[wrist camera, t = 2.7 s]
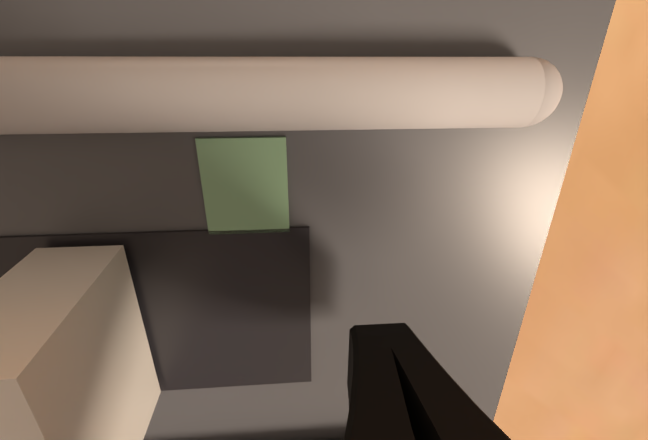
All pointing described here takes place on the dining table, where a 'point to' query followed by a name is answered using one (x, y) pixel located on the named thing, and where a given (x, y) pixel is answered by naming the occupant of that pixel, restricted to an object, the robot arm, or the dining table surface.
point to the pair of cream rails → (272, 93)
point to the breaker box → (302, 204)
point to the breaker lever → (74, 348)
